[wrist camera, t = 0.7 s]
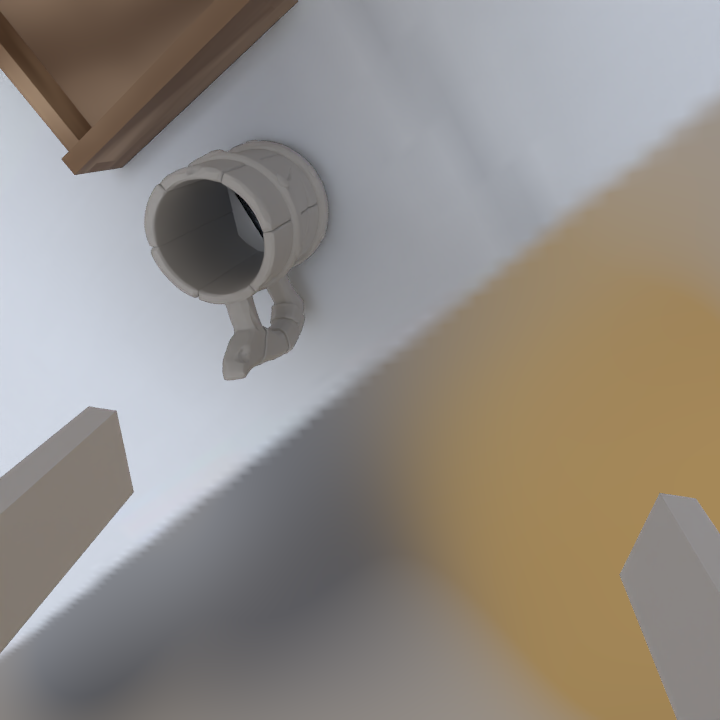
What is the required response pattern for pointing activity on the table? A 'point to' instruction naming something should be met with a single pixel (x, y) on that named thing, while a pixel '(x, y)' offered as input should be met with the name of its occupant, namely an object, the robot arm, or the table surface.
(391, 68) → the table surface
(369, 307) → the table surface
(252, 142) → the mug
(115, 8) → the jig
